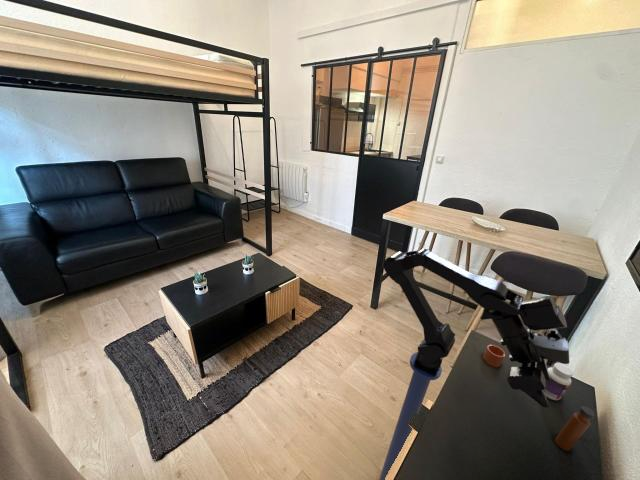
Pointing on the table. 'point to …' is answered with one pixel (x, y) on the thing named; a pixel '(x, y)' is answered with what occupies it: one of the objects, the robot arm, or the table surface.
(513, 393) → the table surface
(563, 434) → the spice bottle
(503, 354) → the pot
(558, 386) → the pill bottle
